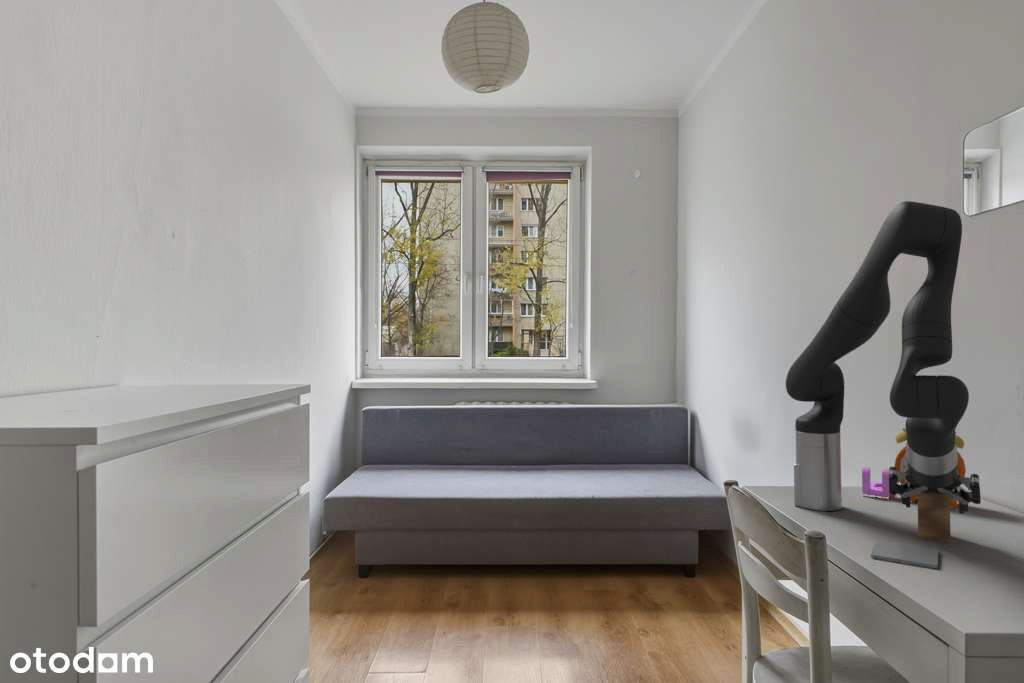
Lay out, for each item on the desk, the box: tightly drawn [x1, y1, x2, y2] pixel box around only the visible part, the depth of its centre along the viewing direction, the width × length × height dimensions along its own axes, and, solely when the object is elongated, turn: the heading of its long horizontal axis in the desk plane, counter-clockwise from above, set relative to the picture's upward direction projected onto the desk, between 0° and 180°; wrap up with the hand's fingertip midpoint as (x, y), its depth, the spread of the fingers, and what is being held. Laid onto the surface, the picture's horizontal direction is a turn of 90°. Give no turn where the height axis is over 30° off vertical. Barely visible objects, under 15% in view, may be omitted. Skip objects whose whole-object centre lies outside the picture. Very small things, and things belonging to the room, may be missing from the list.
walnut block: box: [917, 491, 952, 544], centre depth 117 cm, size 5×5×11 cm
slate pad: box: [870, 539, 939, 570], centre depth 107 cm, size 10×10×1 cm
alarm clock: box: [893, 427, 967, 509], centre depth 141 cm, size 13×6×20 cm, turn 50°
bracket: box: [861, 466, 891, 498], centre depth 151 cm, size 13×6×7 cm, turn 144°
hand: (934, 506), depth 118 cm, fingers open, 8 cm apart
